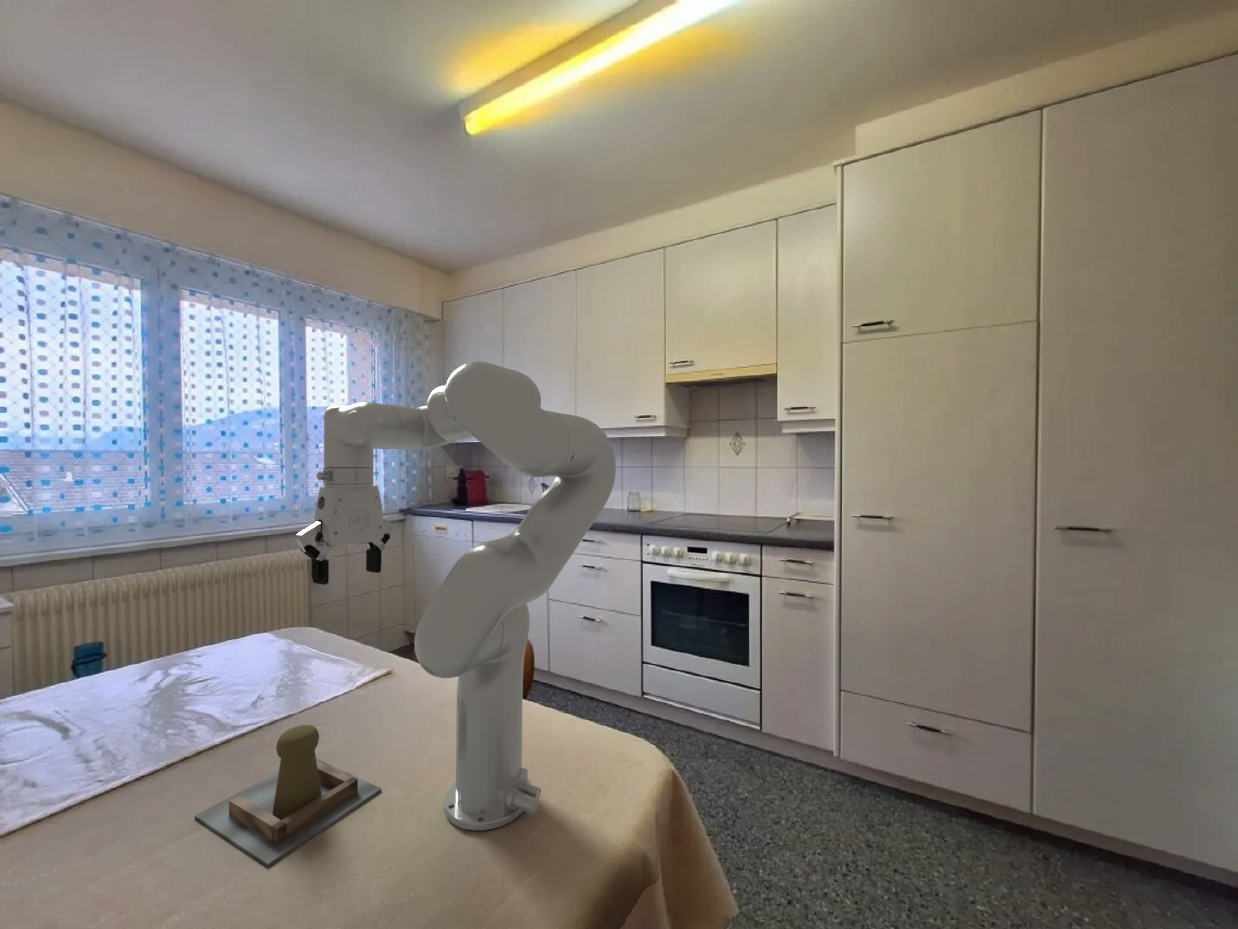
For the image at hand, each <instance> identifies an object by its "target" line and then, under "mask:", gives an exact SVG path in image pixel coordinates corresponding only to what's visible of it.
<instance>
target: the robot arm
mask: <svg viewBox="0 0 1238 929" xmlns="http://www.w3.org/2000/svg"><path fill="white" fill-rule="evenodd" d="M541 406H542V397H541V392H540V389H539V388H538V386H537V384H536V383H535V382H534V381H533V380H532V378H530V377H529V376H528V375H526V374H524V373H522V372H520V371H517V370H514V369H512V368H511V369H510V368H508V367H505V366H500V365H496V364H494V363H489V362H486V361H470V362H467V363H464V364H462V365H460V366H459V367H458V368H456V369H455V370H454V371H453V372H452V373H451V374H450V376H449V377H448V379H447V381H446V384H442V385H439V386H437V387H436V388H434V389H433V390H432V391H431V393H430V395H429V397H428V399H427V404H426V405H425V406H418V407H410V406H403V405H396V404H389V403H378V402H373V401H369V402H368V401H367V402H365V401H364V402H363V401H362V402H358V403H354V404H351V405H333V406H329V407H328V408H326V409H325V411H324V414H323V416H324V417H323V469H322V471H319V472H317V474H316V478H317V480H318V481H322V483H323V486H320V488H319V491H318V496H317V499H316V504H315V512H314V522H313V524H311V525H309V526H308V527H306V528H305V529H302V530H301V531H299V532H297V533H296V534H295V536H294V540H295V541H296V543H297V545H298V546H299V548H300V549H299V550H300V551H301V552H302V553H303V554H304V555H305V556H307V558H308V559H309V560H311V579H312V583H313V584H318V585H321V586H322V585H323V586H324V585H327V584H328V583H329V579H330V578H329V576H330V574H329V573H330V572H329V569H330V568H329V564H330V563H329V562H330V561H329V560H328V559H326V558H327V556H328V554H329V553H330V551H331V550H332V549H333V548H345V547H351V546H357V545H362V544H363V545H364V544H366V545H367V546H368V547H369V548H367V549H366V550H365V551H366V552H365V553H366V554H365V556H366V557H365V559H366V560H365V571H366V572H369V573H370V572H371V573H375V574H379V573H382V551H383V550H384V549H385V548H386V544H387V542H388V541H390V539H391V534H392V533H393V530H394V527H395V523H393V522H390V521H388V520H387V519H384V517H383V507H382V506H383V505H382V500H381V499H382V498H381V495H380V490H379V487H378V485H374V461H375V460H374V450H402V451H403V450H406V451H409V450H410V451H411V450H413V451H414V450H415V451H416V450H422V449H428V448H433V447H441V446H445V445H449V444H452V443H454V442H456V441H458V440H460V439H465V438H471V437H474V439H476V440H477V441H478V442H479V443H480V444H482V445H483V446H484V447H485V448H486V449H488V450H489V452H491V453H492V454H494V455H495V456H496V457H497V458H498V459H499V460H500V461H502V462H503V463H504V464H505V465H506V466H507V467H509V468H510V469H511V470H513V471H515V472H516V473H519V474H520V475H521V474H522V475H524V476H526V477H527V476H528V477H530V478H531V477H532V478H549V477H550V478H551V477H552V478H553V477H554V480H553V482H552V483H550V485H549V486H548V487H547V488H545V490H544V491H543V492H542V493H541V494H540V495H539V496H538V497H537V498H536V499H535V501H534V502H532V504H531V505H530V508H529V510H528V511H527V513H526V514H525V516H524V518H523V519H522V520H521V521H520V523H519V524H518V526H517V527H516V529H515V528H514V530H513V531H512V532H511V533H510V534H508V535H506V536H503V537H500V538H497V539H492V540H488V541H485V542H482V543H479V544H477V545H475V546H473V547H472V548H470V549H468V550H467V551H466V552H465V553H464V554H462V555H461V556H460V557H459V559H458V560H457V561H456V562H455V563H454V565H452V567H451V569H450V571H449V572H448V574H447V575H446V577H445V578H444V580H443V581H442V584H441V585H440V587H439V589H438V590H437V591H436V592H435V594H434V596H433V597H432V600H431V601H430V603H429V604H428V606H427V608H426V609H425V611H424V612H423V614H422V616H421V618H420V621H419V623H418V624H417V627H416V631H415V635H414V636H415V637H414V651H415V656H416V660H417V661H418V664H419V665H420V667H421V669H423V670H424V671H425V672H426V673H428V675H431V676H432V677H436V678H439V679H453V678H457V677H458V678H457V683H456V684H457V685H456V726H455V727H456V729H455V730H456V735H455V736H456V739H455V742H456V743H455V749H456V750H455V752H456V753H455V782H454V783H453V784H452V785H451V786H450V788H449V789H448V790H447V792H446V794H445V797H444V804H443V807H444V808H443V809H444V814H445V816H446V818H447V819H448V821H450V823H451V824H453V825H454V826H456V827H459V828H461V829H463V830H468V831H487V830H488V829H489V830H493V829H497V828H501V827H503V826H505V825H507V823H508V824H509V823H511V822H513V821H515V820H516V819H517V818H518V817H517V816H519V815H520V814H521V813H522V812H523V811H524V812H523V813H526V814H529V815H532V816H533V815H534V814H536V812H537V810H538V807H539V798H540V797H541V793H542V788H541V787H539V786H536V785H532V783H531V780H530V779H529V776H528V775H529V774H528V769H527V768H524V767H523V695H524V693H523V692H524V689H523V688H524V686H523V685H524V666H525V664H524V663H525V654H526V649H527V644H528V638H529V633H530V632H529V631H530V611H529V606H528V605H527V604H529V603H531V602H533V601H534V600H537V599H539V598H540V597H542V596H543V595H544V594H546V593H547V592H548V590H549V589H550V588H551V587H552V585H553V584H554V583H555V581H556V579H557V578H558V576H559V575H560V573H561V572H562V570H563V569H564V567H565V566H566V564H567V563H568V561H569V560H570V558H571V557H572V556H573V554H574V552H575V551H577V550H576V549H577V548H578V547H579V545H580V543H581V542H582V540H583V539H584V537H585V536H586V534H588V532H589V530H590V528H592V526H593V524H594V523H595V521H596V520H597V519H598V517H599V516H600V514H601V513H602V511H603V510H604V508H605V506H606V504H607V502H608V501H609V498H610V496H611V494H612V491H613V488H614V485H615V480H616V473H617V462H616V456H615V452H614V448H613V445H612V443H611V440H610V439H609V438H608V435H607V434H606V433H605V431H604V430H603V429H602V428H600V426H599V425H598V424H596V423H594V422H593V421H591V420H589V419H587V418H585V417H581V416H579V415H578V416H577V415H575V414H574V415H573V414H570V413H569V414H568V413H561V412H556V411H551V410H545V409H543V408H542V407H541ZM312 537H313V538H314V543H315V545H312V543H311V541H310V539H311V538H312ZM523 813H522V814H523ZM522 814H521V815H522ZM521 815H520V816H521ZM520 816H519V817H520ZM516 817H517V818H516ZM515 818H516V819H515ZM514 819H515V820H514ZM512 820H513V821H512ZM489 830H488V831H489Z"/></svg>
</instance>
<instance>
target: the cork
mask: <svg viewBox="0 0 1238 929" xmlns="http://www.w3.org/2000/svg"><path fill="white" fill-rule="evenodd" d="M319 741H320V734H319V731H318V728H316V726H314V725H309V724H301V725H297V726H293V727H290V728H289V729H287V730H286V731H284V732H283V733H281V735H280V736H279V737H278V739H277V741H276V746H275V747H276V748H275V749H276V753H277V756H278V757H279V758H280V761H279V768H278V772H279V774H278V780H277V787H276V793H275V800H274V806H273V812H272V813H273V816H275V817H277V818H278V819H280V820H283V819H284V818H286V817H288V816H289V815H291V814H293V813H294V812H296V811H297V810H299V809H301V808H302V807H304V806H306V805H307V804H309V803H311V802H312V801H314V800H316V799H317V798H319V797H321V796H322V794H321V788H320V781H319V775H318V768H317V762H316V759H317V756H316V748H317V747H318V745H319Z"/></svg>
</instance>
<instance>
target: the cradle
mask: <svg viewBox="0 0 1238 929" xmlns="http://www.w3.org/2000/svg"><path fill="white" fill-rule="evenodd" d="M316 762H317V768H318V775H319V781H320V788H321V794H322V796H321V797H319V798H317V799H316V800H314V801H312V802H311V803H309V804H307V805H306V806H304V807H302V808H301V809H299V810H297V811H296V812H294V813H293V814H291V815H289V816H288V817H286V818H284V819H283V820H280V819H278V818H277V817H275V816H273V813H272V812H273V806H274V800H275V793H276V787H277V780H278V774H279V771H278V772H275V773H273V774H272V775H269V776H267V777H266V778H263V779H262V780H260V781H258V782H256V783H254V784H252V785H250V786H248V787H246V788H244V789H242V790H240V791H239V792H237V793H235V794H233V795H231V796H229V797H227V798H225V799H223V800H222V801H220V802H218V803H216V804H214V805H212V806H211V807H208V808H206V809H205V810H202V811H201V812H199V813H197V814H195V815H194V819H195V820H197V821H198V822H199V823H201V824H202V825H204V826H205V827H207V828H209V829H210V830H212V831H213V832H215V833H216V834H217V835H219V836H220V837H222V838H223V839H225V840H227V841H228V842H230V843H231V844H232V845H234V846H235V847H237V848H239V849H240V850H242V851H243V852H244V853H246V854H247V855H249V856H250V857H251V858H253V859H254V860H257V862H259V863H261V864H262V865H264V866H265V867H267V868H268V867H270V866H272V865H273V864H275V863H276V862H278V861H279V860H281V859H282V858H284V857H285V856H286V855H288V854H289V853H291V852H294V850H296V849H297V848H298V847H300V846H302V845H303V844H305V843H306V842H307V841H309V840H310V839H312V838H313V837H315V836H316V835H318V834H320V833H321V832H322V831H324V830H326V829H327V828H328V827H330V826H331V825H333V824H335V823H336V822H338V821H339V820H340V819H342V818H344V817H345V816H346V815H347V814H349V813H351V812H353V810H354V811H355V809H357V808H358V807H359V806H360V807H361V805H363V804H364V803H367V801H369V800H370V799H372V798H373V797H374V796H376V795H378V794H379V793H381V792H382V788H381V787H380V786H377V785H375V784H372V783H370V782H368V781H367V780H364V779H362V778H359V777H357V776H356V775H353V774H351V773H349V772H347V771H344V770H342V769H340V768H338V767H336V766H333V765H332V764H330V763H328V762H324V761H322V760H320V759H318V758H316ZM380 791H381V792H380ZM377 793H378V794H377ZM375 794H376V795H375ZM371 797H372V798H371Z"/></svg>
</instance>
